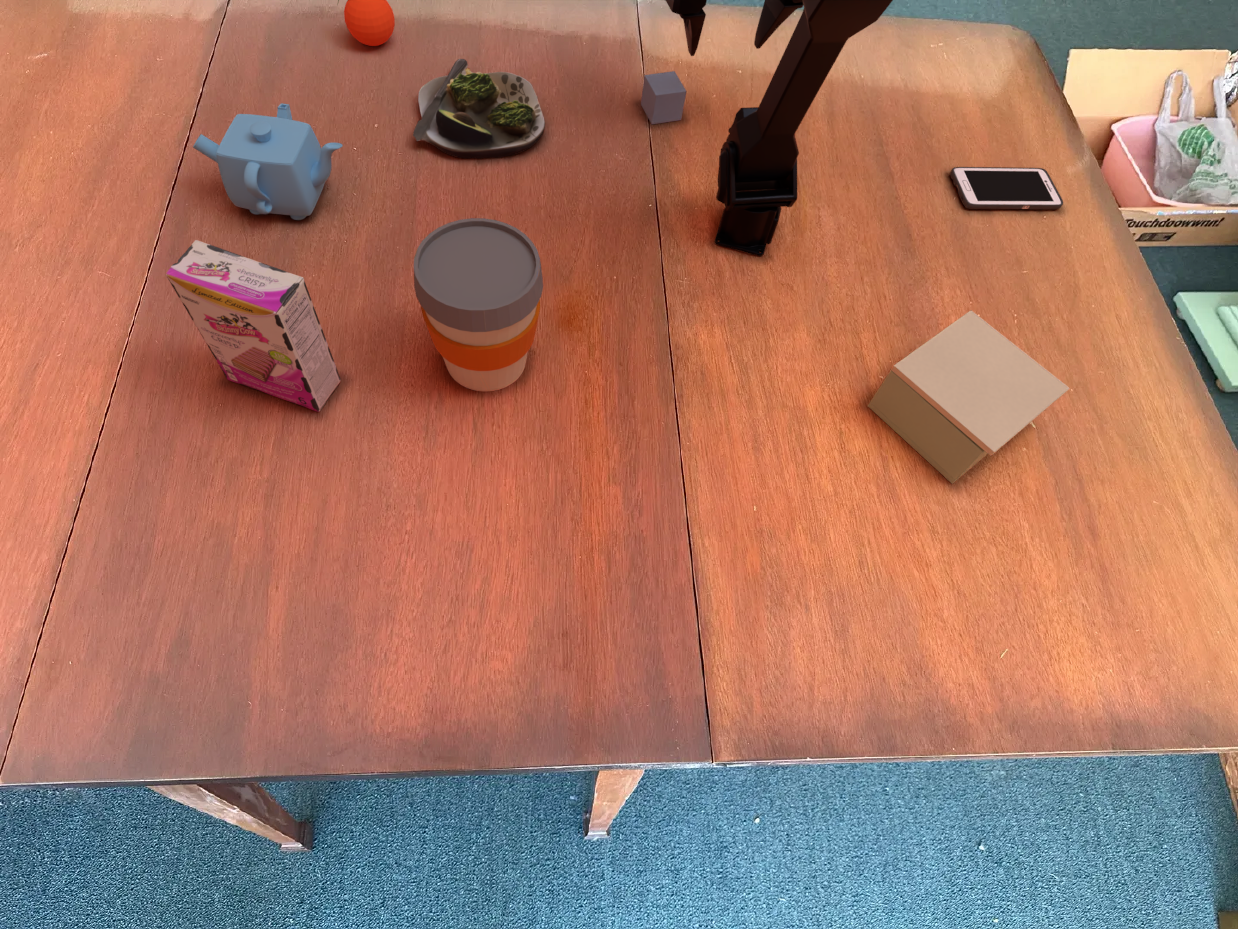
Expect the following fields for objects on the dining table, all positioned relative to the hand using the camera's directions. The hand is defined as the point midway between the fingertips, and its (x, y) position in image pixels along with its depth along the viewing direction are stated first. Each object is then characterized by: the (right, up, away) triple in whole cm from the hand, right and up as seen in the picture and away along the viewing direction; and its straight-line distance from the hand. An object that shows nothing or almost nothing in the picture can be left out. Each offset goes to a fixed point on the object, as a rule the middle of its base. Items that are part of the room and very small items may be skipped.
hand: (724, 50), depth 100 cm
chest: (+24, -48, -11) cm, 54 cm away
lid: (+25, -44, -17) cm, 54 cm away
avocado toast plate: (-33, -6, +7) cm, 34 cm away
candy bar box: (-49, -45, -16) cm, 68 cm away
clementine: (-50, +9, +14) cm, 53 cm away
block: (-8, -3, +12) cm, 14 cm away
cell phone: (+41, -15, +10) cm, 45 cm away
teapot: (-55, -20, -3) cm, 58 cm away
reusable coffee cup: (-29, -42, -13) cm, 52 cm away
